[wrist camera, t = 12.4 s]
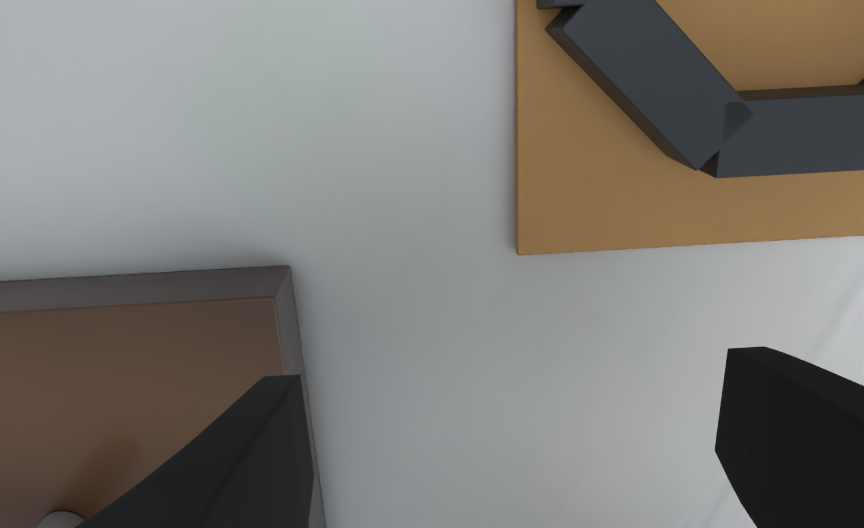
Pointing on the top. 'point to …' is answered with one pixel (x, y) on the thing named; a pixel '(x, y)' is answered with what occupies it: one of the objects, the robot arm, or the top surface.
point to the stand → (129, 379)
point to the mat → (648, 166)
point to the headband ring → (706, 96)
